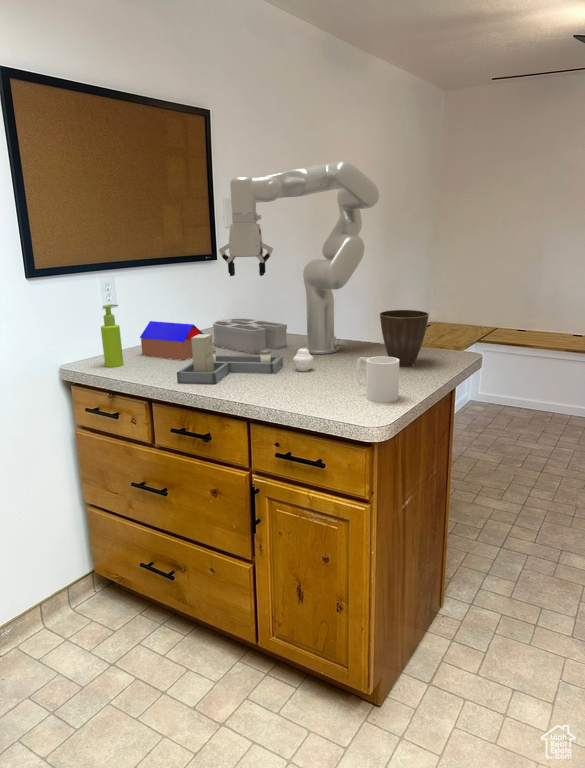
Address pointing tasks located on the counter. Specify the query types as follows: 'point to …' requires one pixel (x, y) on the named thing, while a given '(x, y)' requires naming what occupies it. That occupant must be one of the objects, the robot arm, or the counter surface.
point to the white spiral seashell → (303, 360)
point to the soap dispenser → (111, 340)
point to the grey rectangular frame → (251, 363)
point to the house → (168, 340)
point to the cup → (380, 378)
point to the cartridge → (265, 355)
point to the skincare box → (202, 353)
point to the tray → (203, 374)
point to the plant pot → (403, 334)
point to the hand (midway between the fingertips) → (247, 275)
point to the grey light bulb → (214, 354)
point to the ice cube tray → (249, 334)
